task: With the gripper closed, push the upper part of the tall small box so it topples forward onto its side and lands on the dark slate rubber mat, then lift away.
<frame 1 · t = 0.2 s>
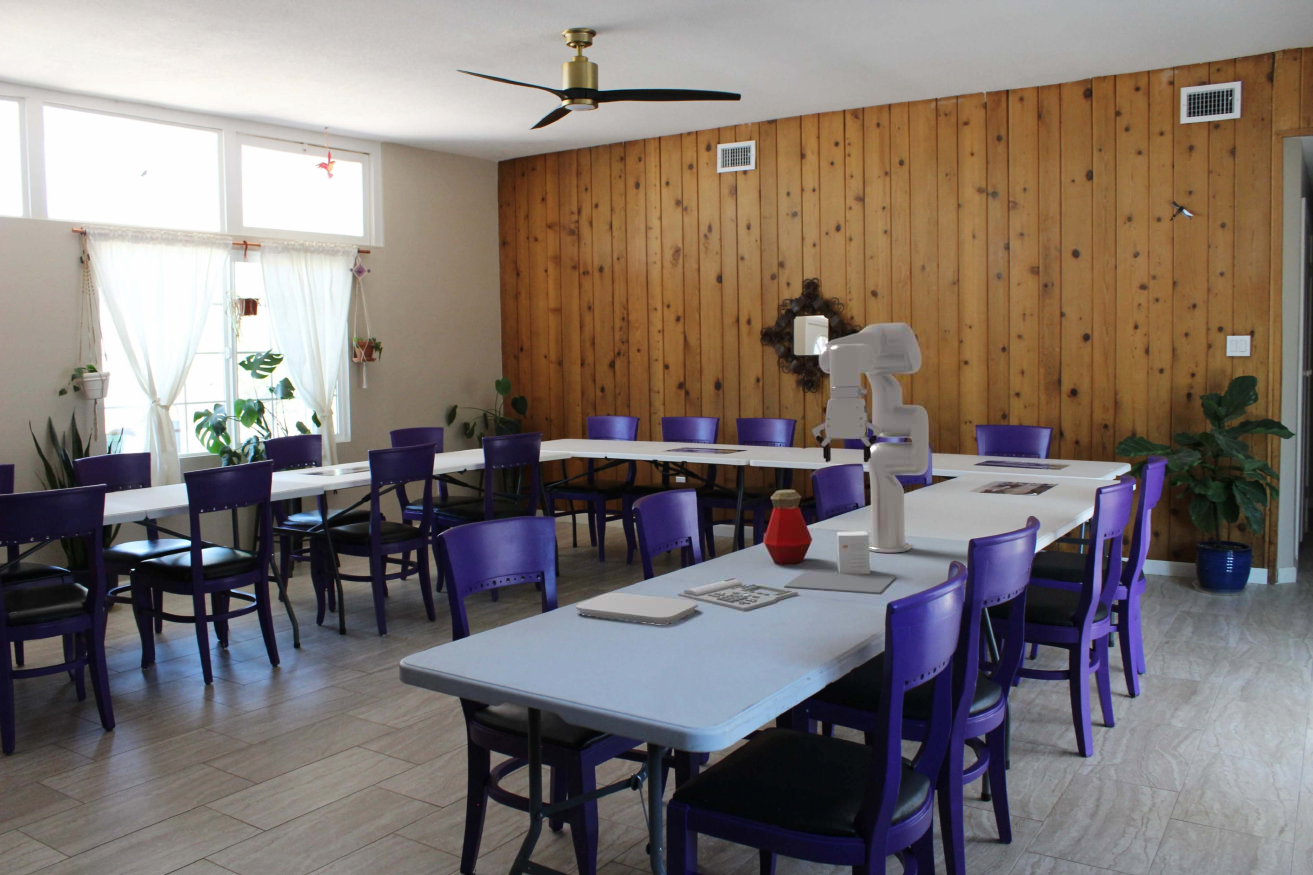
hand: (847, 461, 247), 31 cm above the table, fingers open, 9 cm apart
small box: (853, 572, 260), on the table
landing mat: (840, 582, 249), on the table
office telephone: (739, 598, 240), on the table
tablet: (637, 614, 227), on the table
bottle: (788, 561, 278), on the table
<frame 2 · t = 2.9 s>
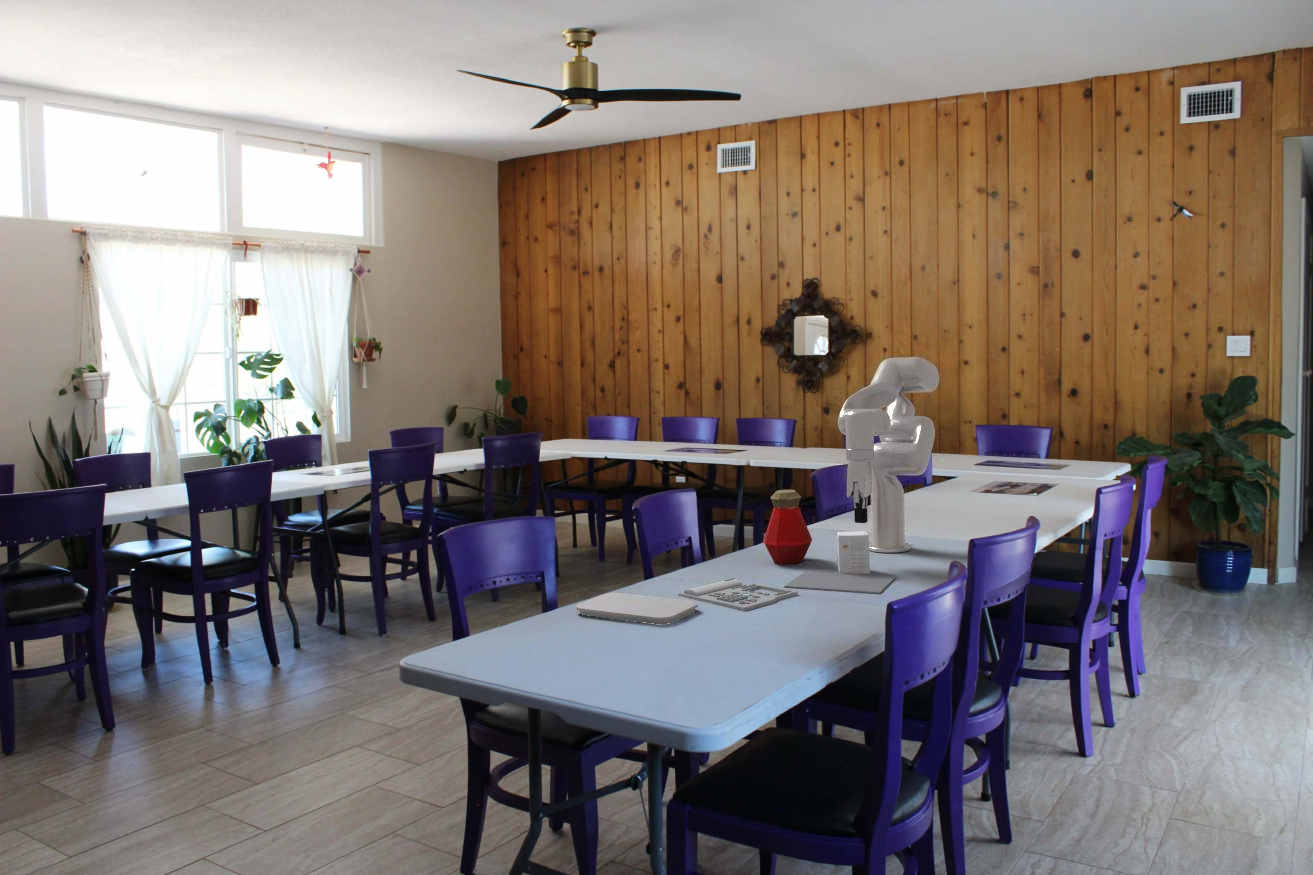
hand: (861, 522, 268), 12 cm above the table, fingers closed
nothing on the table moved.
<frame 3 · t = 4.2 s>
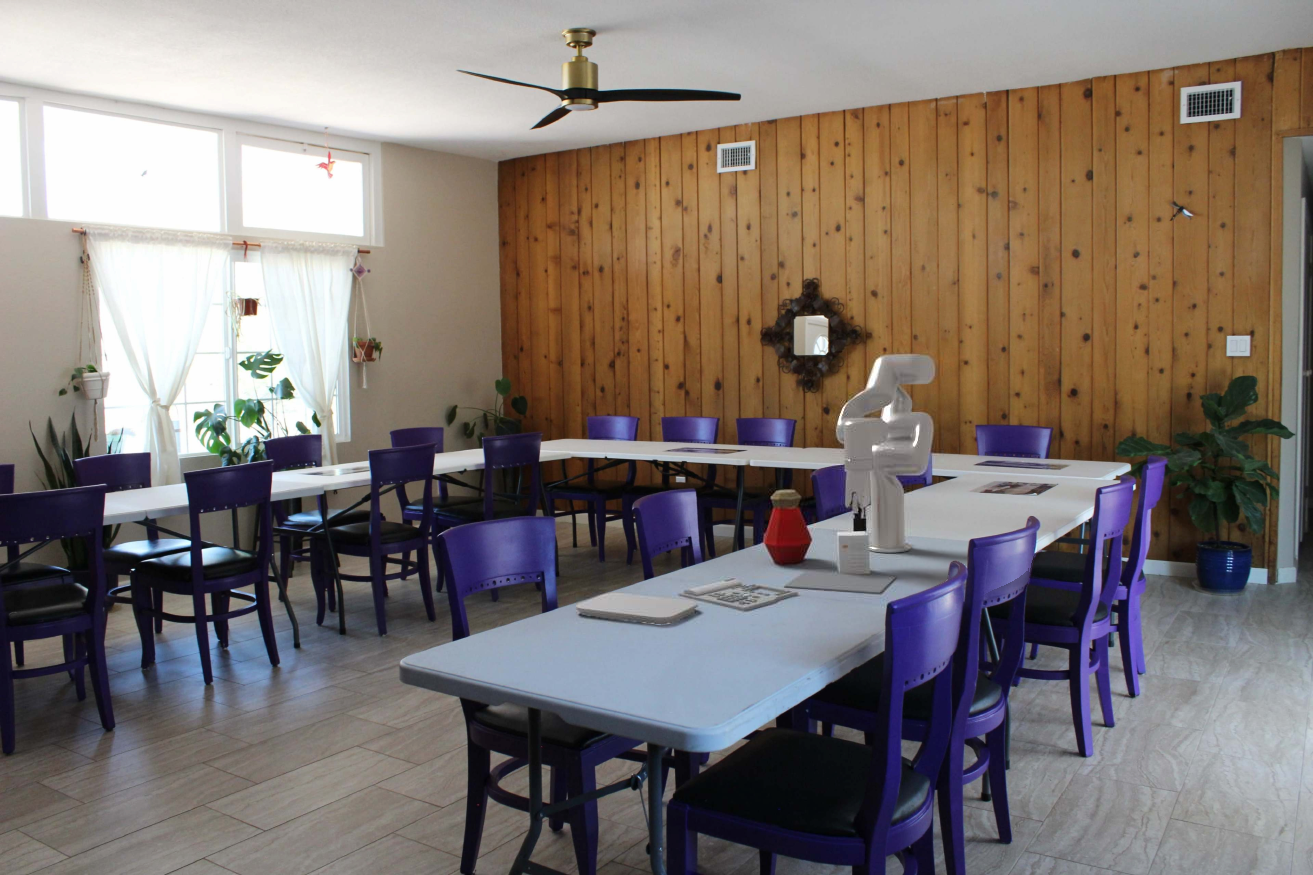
hand: (860, 532, 267), 9 cm above the table, fingers closed
nothing on the table moved.
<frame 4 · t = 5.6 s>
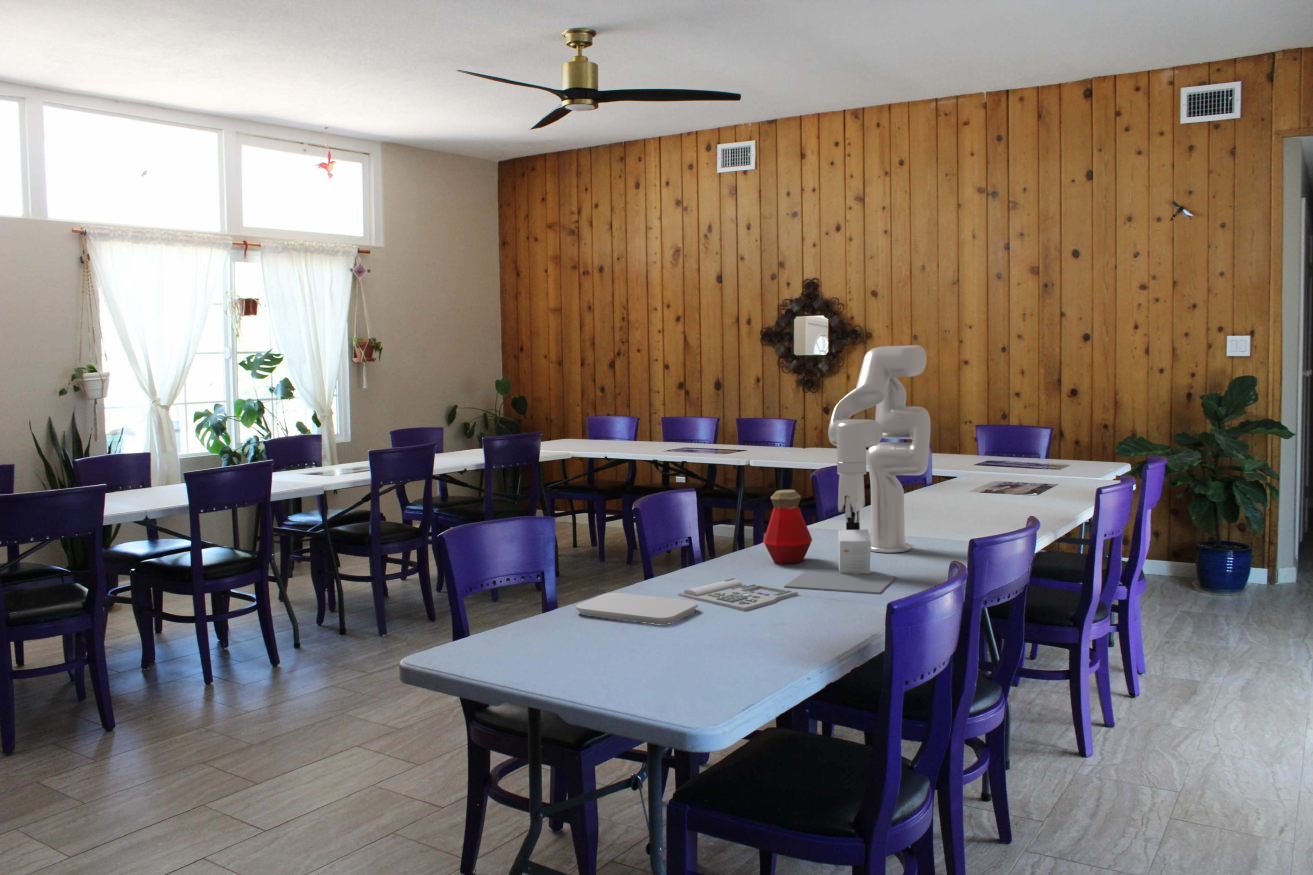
hand: (853, 536, 260), 9 cm above the table, fingers closed
small box: (853, 568, 260), point 1 cm above the table
everything else where it was.
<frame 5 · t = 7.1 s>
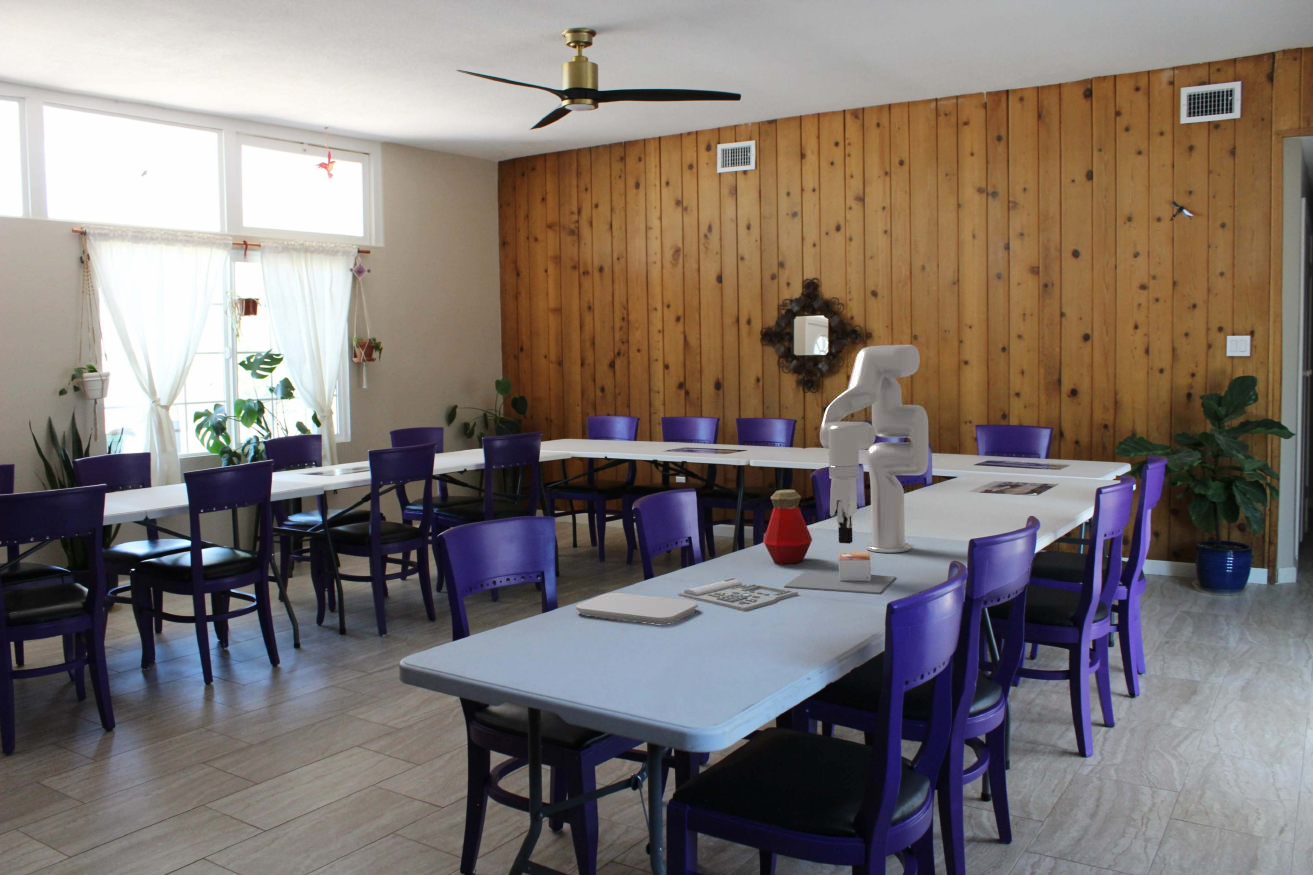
hand: (845, 542, 253), 9 cm above the table, fingers closed
small box: (854, 562, 258), point 3 cm above the table, touching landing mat
everything else where it was.
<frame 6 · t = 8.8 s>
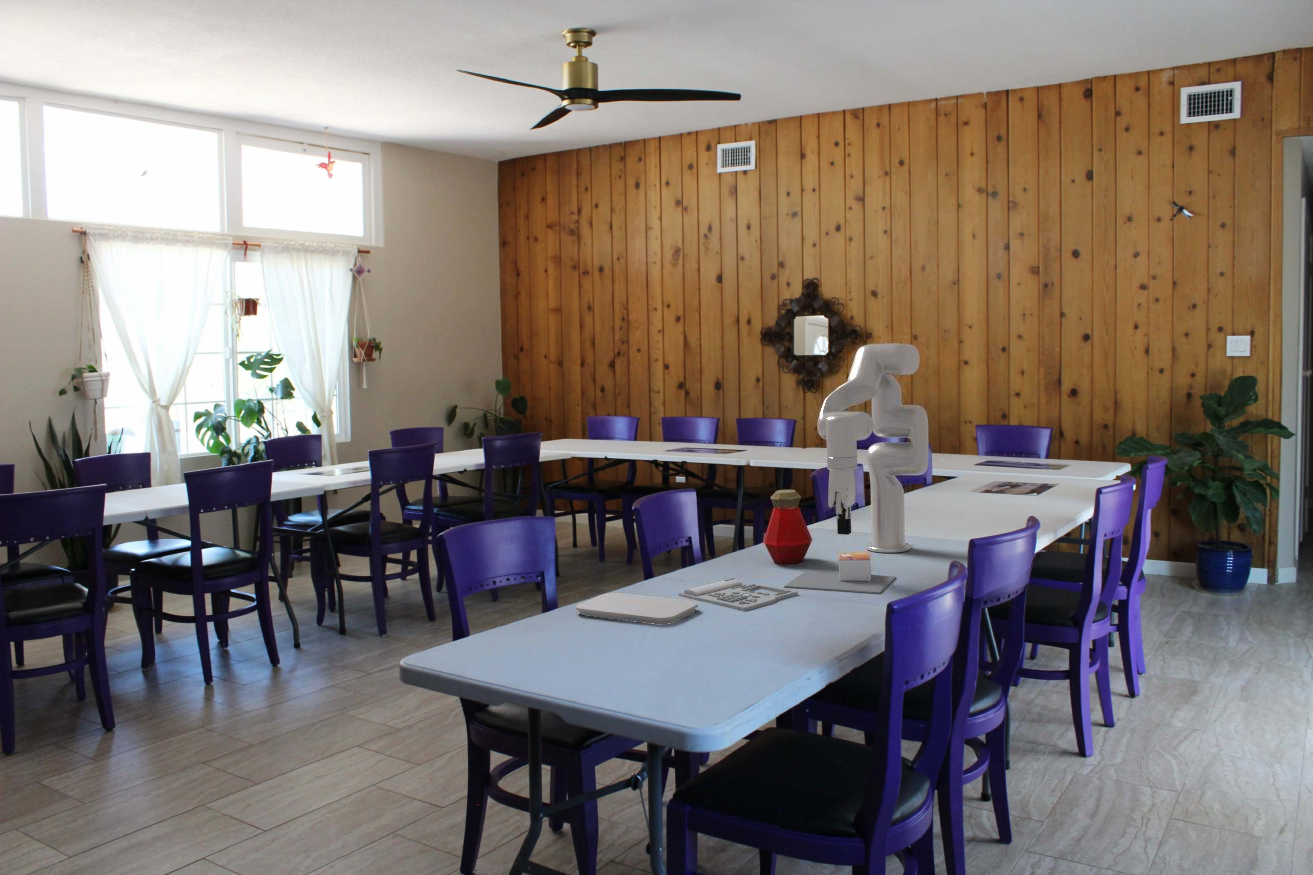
hand: (844, 533, 252), 12 cm above the table, fingers closed
nothing on the table moved.
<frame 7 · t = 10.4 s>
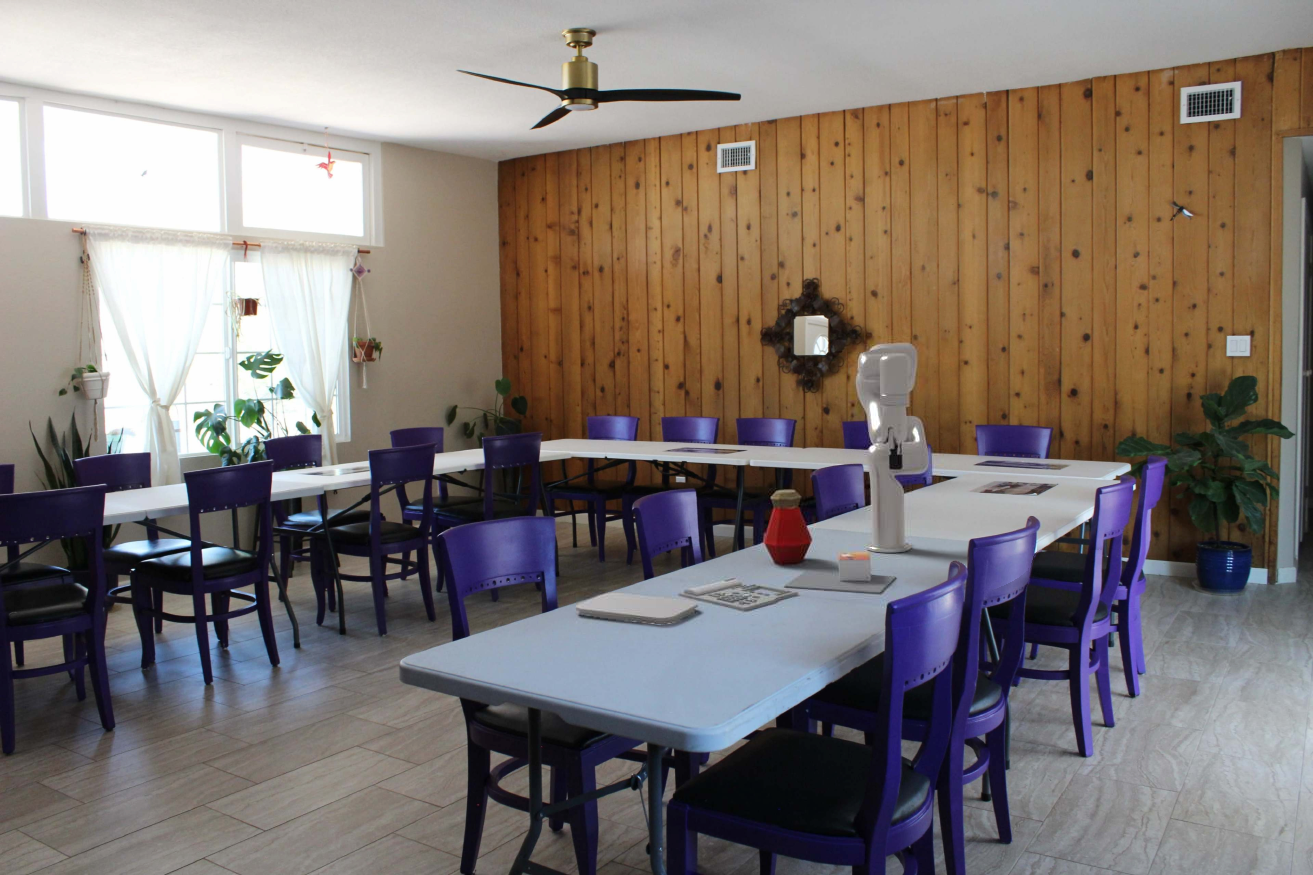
hand: (895, 468, 264), 26 cm above the table, fingers closed
nothing on the table moved.
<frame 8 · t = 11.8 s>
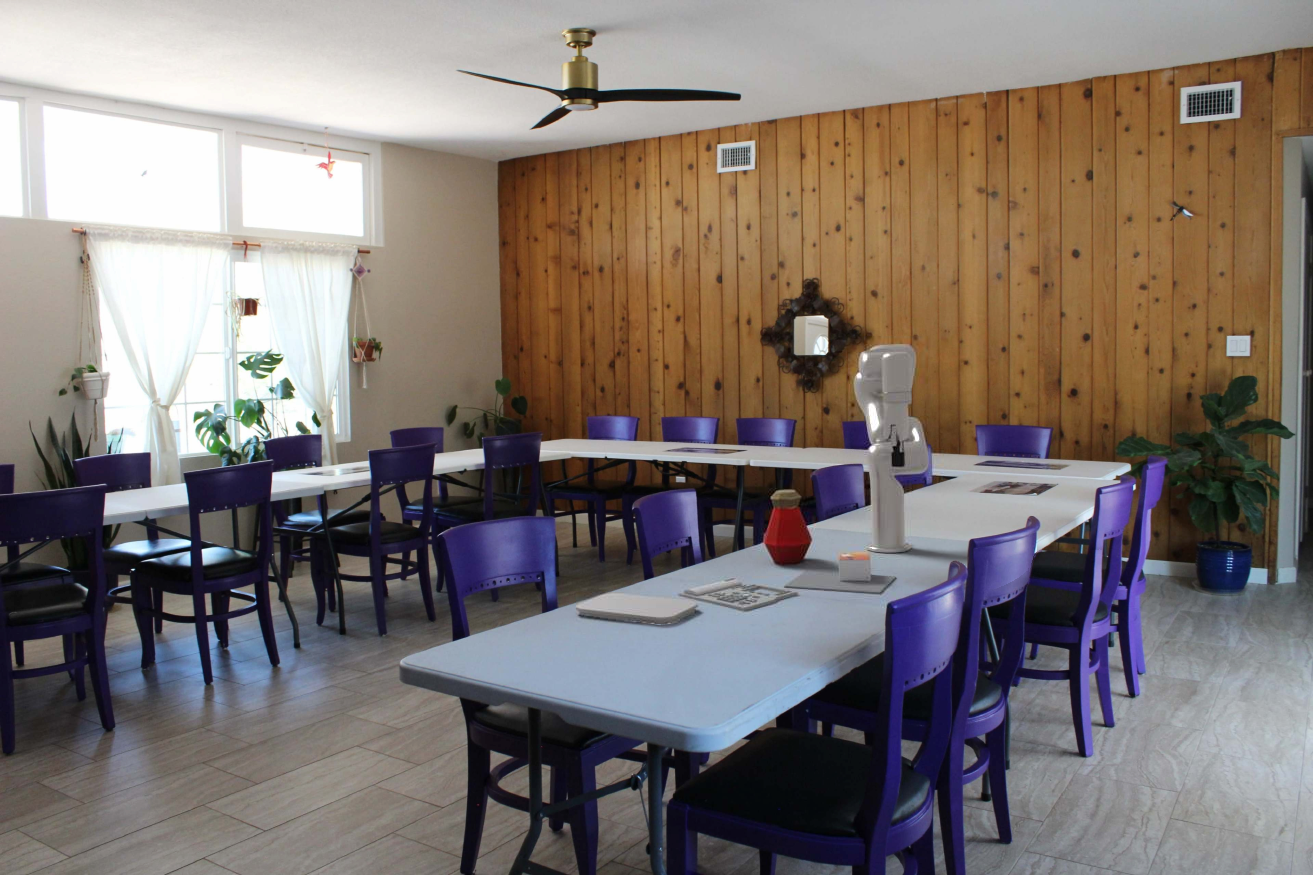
hand: (898, 466, 264), 27 cm above the table, fingers closed
nothing on the table moved.
at the end: small box tilted 90°; small box touching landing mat; the gripper is holding nothing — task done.
